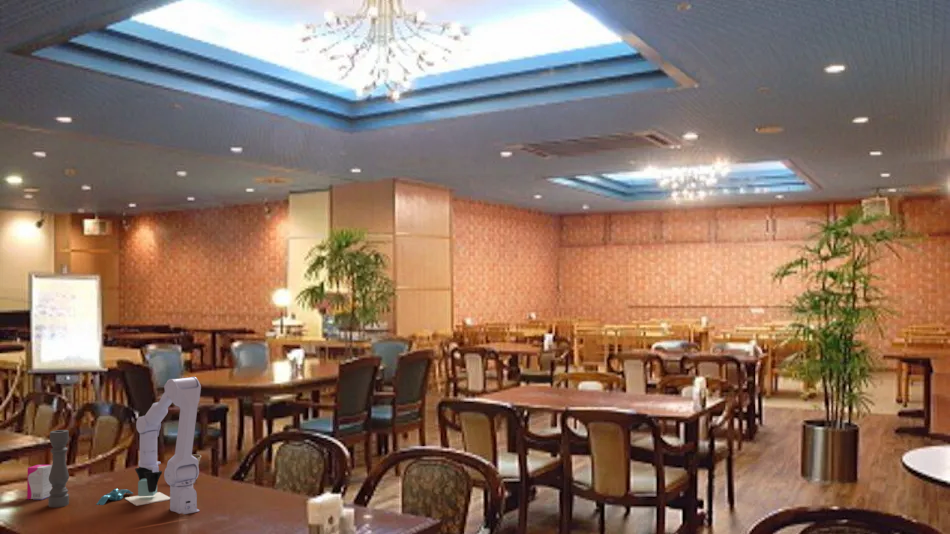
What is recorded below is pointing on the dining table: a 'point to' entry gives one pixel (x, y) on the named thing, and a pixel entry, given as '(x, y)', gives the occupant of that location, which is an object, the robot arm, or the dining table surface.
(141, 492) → the teal cube
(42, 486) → the supplement box
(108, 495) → the flying bird
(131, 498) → the mat
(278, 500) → the dining table surface
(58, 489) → the candle holder
